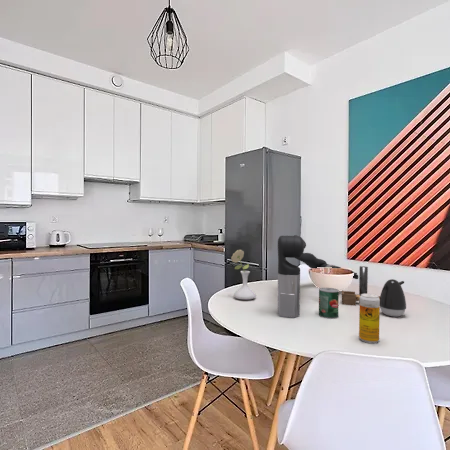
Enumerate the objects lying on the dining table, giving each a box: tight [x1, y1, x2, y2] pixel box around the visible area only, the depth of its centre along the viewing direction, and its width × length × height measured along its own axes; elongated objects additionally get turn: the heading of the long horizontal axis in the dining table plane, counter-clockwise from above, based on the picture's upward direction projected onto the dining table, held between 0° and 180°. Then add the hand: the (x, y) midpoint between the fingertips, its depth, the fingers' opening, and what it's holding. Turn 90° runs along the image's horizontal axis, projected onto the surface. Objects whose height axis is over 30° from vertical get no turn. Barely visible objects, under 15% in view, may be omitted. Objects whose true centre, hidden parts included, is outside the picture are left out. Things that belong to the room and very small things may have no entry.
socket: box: [341, 290, 357, 306], centre depth 152 cm, size 7×6×5 cm
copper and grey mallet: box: [355, 265, 380, 304], centre depth 149 cm, size 4×16×17 cm, turn 71°
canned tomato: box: [318, 287, 340, 320], centre depth 131 cm, size 8×8×11 cm
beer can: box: [358, 293, 381, 344], centre depth 104 cm, size 6×6×15 cm
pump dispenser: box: [380, 278, 407, 318], centre depth 133 cm, size 10×10×15 cm
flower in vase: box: [230, 249, 257, 300], centre depth 158 cm, size 13×11×25 cm
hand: (350, 277), depth 160 cm, fingers open, 8 cm apart
